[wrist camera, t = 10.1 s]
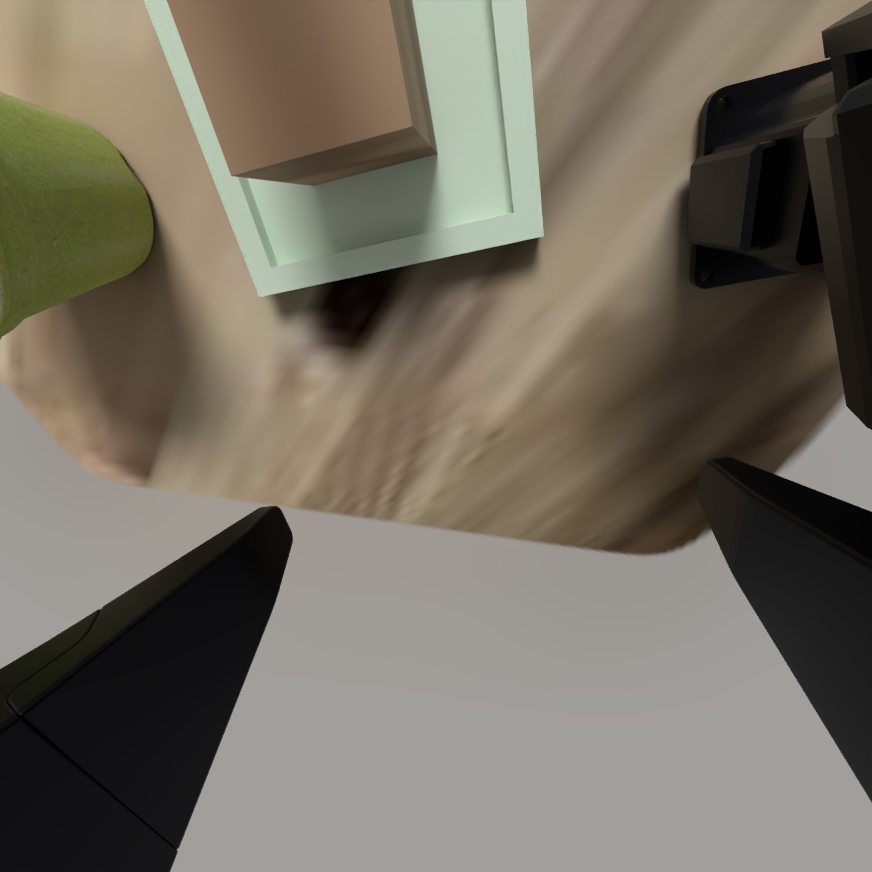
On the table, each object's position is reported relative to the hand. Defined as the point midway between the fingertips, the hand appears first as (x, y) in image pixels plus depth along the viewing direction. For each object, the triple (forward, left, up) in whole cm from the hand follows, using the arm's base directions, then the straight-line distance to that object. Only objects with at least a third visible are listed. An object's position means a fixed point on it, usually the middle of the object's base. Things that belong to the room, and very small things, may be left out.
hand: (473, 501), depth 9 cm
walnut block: (+3, -10, -11) cm, 15 cm away
